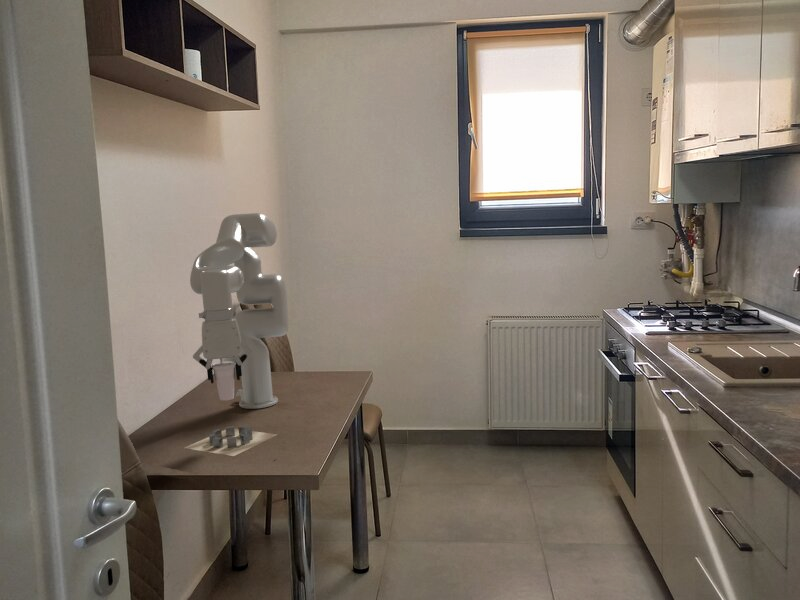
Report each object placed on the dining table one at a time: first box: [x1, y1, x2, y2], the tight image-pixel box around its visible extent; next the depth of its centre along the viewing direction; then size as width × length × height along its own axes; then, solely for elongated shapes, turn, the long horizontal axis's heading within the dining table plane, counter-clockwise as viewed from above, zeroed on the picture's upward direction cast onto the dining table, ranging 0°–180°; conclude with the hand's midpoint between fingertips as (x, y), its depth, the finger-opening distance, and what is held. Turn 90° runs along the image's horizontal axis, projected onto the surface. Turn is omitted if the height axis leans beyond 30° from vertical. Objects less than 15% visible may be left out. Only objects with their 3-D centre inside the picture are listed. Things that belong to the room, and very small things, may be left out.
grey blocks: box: [208, 425, 253, 448], centre depth 205 cm, size 11×11×2 cm
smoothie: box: [211, 358, 236, 401], centre depth 202 cm, size 6×6×14 cm
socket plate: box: [184, 428, 278, 457], centre depth 205 cm, size 18×18×2 cm
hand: (225, 380), depth 203 cm, fingers closed on smoothie, 6 cm apart
